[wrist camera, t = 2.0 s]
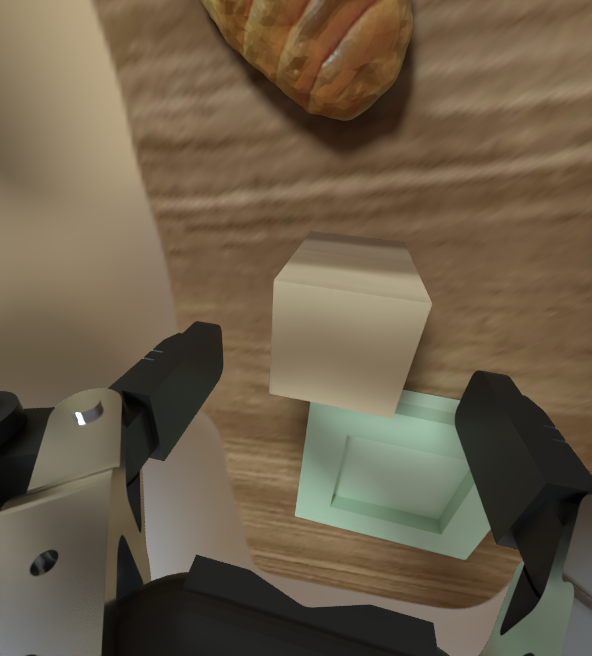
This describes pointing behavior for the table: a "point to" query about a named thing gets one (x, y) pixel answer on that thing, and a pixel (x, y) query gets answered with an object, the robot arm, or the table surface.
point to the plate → (393, 475)
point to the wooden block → (347, 323)
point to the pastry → (321, 47)
